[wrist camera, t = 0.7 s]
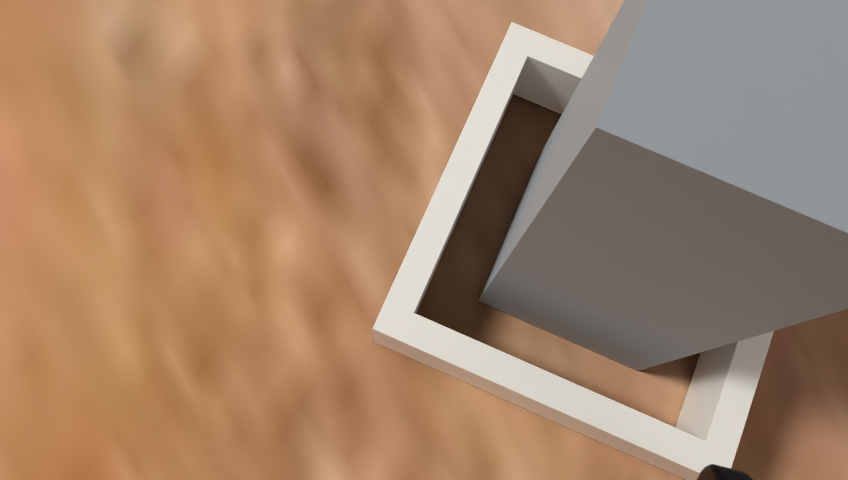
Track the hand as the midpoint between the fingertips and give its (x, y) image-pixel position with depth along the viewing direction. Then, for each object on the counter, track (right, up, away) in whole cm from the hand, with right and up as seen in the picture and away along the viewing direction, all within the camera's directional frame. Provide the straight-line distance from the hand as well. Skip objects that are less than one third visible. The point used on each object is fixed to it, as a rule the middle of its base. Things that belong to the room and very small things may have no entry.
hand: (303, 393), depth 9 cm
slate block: (+6, +1, +15) cm, 16 cm away
